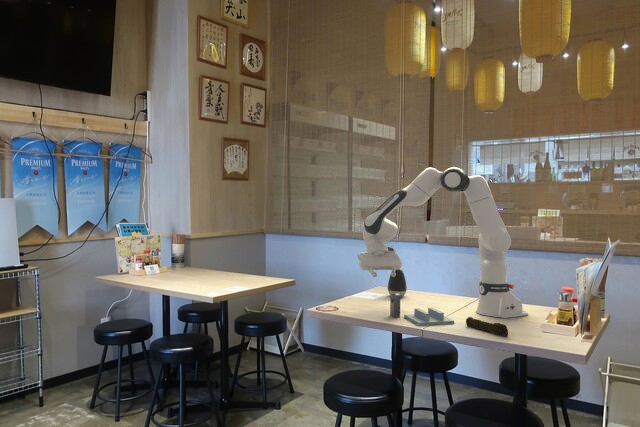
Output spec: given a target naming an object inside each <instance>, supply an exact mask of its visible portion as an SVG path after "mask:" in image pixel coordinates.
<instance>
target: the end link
mask: <svg viewBox="0 0 640 427" xmlns="http://www.w3.org/2000/svg"><path fill="white" fill-rule="evenodd" d="M389 301H390V303H389V305H390V307H389V308H390V309H389V316H390V317H392V318H401V297H400V294H399V293H395V294H391V295H390V299H389Z"/></svg>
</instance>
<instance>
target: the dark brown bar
mask: <svg viewBox="0 0 640 427" xmlns="http://www.w3.org/2000/svg"><path fill="white" fill-rule="evenodd" d="M465 325H466V327H470V328H471V327H473V328H476V329H479V330H483V331H486V332H490V333H492V334H493V335H494V334H495V335H496V336H498V335H499V337H504V338H508V337H509V329H508V328H507V325H506V324H502V323H500V322H494V323H493V322H492V323H491V322H487V321H483V320H480V319H478V318H473V317H472V316H468V317H467V318H466V319H465Z"/></svg>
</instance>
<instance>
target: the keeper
mask: <svg viewBox="0 0 640 427" xmlns="http://www.w3.org/2000/svg"><path fill="white" fill-rule="evenodd" d="M427 309H428V310H427V311H425V310H424V309H421V308H419V307H418V308H414V309H413V310H414V311H413V312H414V314H412V313H411V314H410V313H409V314H404V319H406V320H408V321H410V322H411V321H412V322H411V323H413V324H415V325H417V326H418V325H419V326H421V327H423V326H434V325H453V324H455V320H454V319H451V318H449V317H447V316H445V313H444V312H442V311H441V310H439V309H437V308H434V307H427Z"/></svg>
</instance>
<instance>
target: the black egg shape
mask: <svg viewBox="0 0 640 427" xmlns="http://www.w3.org/2000/svg"><path fill="white" fill-rule="evenodd" d="M392 272H393V271H392V270H391V273H392ZM391 273H390V276H389V277H388V278H389V279H388V281H387V282H388V283H387V288H386V290H387V292H388V294H389V295H390V296H391V294H395V293H399V294H400V298H402V297H404V296H405V295H406V293H407V290H408V286H407V285H408V284H407V279H406V276H405V273H404V271H403V270H402V269H401V268H400V269H399V270H396V271H395V273H396V276H395V277H392V275H391Z"/></svg>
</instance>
